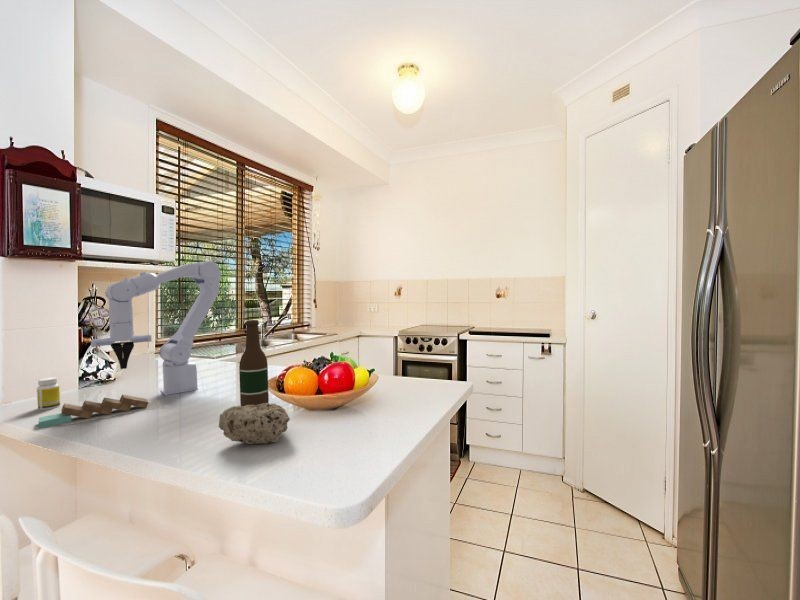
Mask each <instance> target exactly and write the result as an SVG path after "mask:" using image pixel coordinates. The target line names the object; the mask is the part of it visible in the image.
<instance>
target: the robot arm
mask: <svg viewBox="0 0 800 600" xmlns="http://www.w3.org/2000/svg"><path fill="white" fill-rule="evenodd" d="M221 275H222V273H221V271H220V268H219V266H218V263H216V262H214V261H212V260H205V261H201V262H198V261H196V262H194V263H188V264H187V263H186V264H181V265H178V266H176V267H173V268H171V269H168V270H165V271H162V272H160V273H156V274H155V273H153V272H150V271H149V272H146V271H142V272H139V275H136V276H133V277H129V278H128V277H125V278H122V280H121V281H117V282H112V283H110V284H109V285H108V286H107V287H106V290H105V292H104V294H105V297H106V298H107V299H108V316H109V317H108V321H109V324H108V325H109V337H106V338H97V339H95V338H94V339H91V340H90V346H91V348H94V347H102V346H105V347H106V346H110V347H111V349H112V351H113V352H114V354H115V356H116V359H117V360H118V363H119V368H120V369H121V370H124V369H127V367H128V362H129V359H130V355H131V353H132V351H133V349H134V347H135V344H136V343H145V342H146V343H149V342H153V341H152V340H153V339H152V335H151V334H145V335H134V334H135V331H134V314H133V303H132V302H133V298H135V297H140V296H141V295H146V294H147V293H152V292H154V291H157V290H158V289H159V287H160V285H161V284H164V283H167V282H171V281H174V280H178V279H180V278H184V277H185V278H192V279H193V280H194V282H195V283H196V284H197V286H198V288H199V290H200V291H199V294H198V296H197V297H196V299H195V301H194V302H193V303H192V306H191V307H190V309H189V311H188V312H187V314H186V316H185V318H184V319H183V321H182V322H181V324H180V326H179V328H178V329H177V331H176V332H175V333H174V334H173V335H172V336H170V338H169V340H168V341H167V342H165V343H164V344H163V345H161V347H160V348H159V355H160V358H161V359H162V360H163V361H162V383H163V384H162V385H163V388H161V389H160V390H159V391H160V392H161V393H162V394H163V395H164V396H170V395H174V394H180V393H186V392H192V391H197V390H199V388H198V371H197V370H198V369H197V365H196V363H195V361H189V359H190V358H191V354H192V349H193V347H194V337H195V336H196V334H197V332H198V330H199V329H200V327H201V325H202V323H203V321H204V320H205V318H206V317H207V314H208V313H209V311H210V310H211V308H212V307H213V304H214V303H215V301H216V299H217V297H218V295H219V293H220V278H221Z"/></svg>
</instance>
